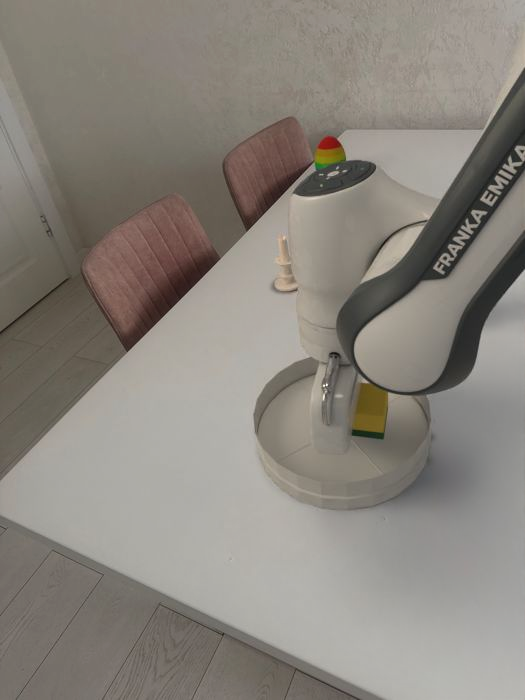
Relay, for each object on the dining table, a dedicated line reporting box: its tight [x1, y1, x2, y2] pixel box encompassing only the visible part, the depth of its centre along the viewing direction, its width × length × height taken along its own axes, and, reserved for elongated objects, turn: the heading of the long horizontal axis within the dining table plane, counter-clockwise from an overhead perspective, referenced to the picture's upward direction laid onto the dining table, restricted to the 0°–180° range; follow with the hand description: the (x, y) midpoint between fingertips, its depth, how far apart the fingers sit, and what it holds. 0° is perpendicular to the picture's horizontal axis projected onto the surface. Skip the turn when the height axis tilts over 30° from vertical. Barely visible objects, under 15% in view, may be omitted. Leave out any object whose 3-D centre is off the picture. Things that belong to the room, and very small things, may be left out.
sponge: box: [351, 383, 388, 440], centre depth 59 cm, size 8×5×4 cm, turn 73°
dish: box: [252, 356, 433, 511], centre depth 63 cm, size 22×22×5 cm
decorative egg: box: [314, 135, 347, 171], centre depth 129 cm, size 8×8×10 cm
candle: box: [274, 234, 298, 293], centre depth 91 cm, size 5×5×10 cm
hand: (346, 415), depth 60 cm, fingers closed on sponge, 5 cm apart
